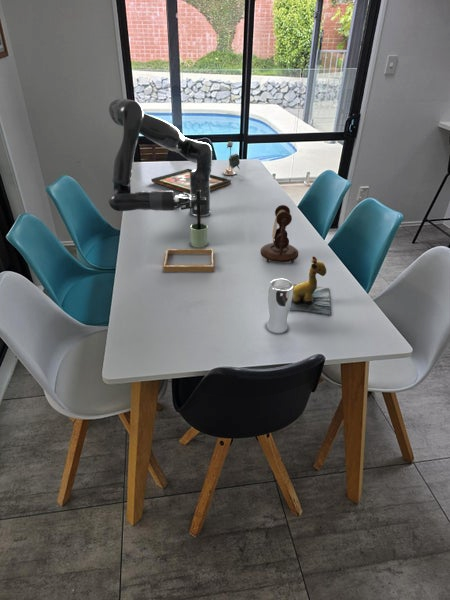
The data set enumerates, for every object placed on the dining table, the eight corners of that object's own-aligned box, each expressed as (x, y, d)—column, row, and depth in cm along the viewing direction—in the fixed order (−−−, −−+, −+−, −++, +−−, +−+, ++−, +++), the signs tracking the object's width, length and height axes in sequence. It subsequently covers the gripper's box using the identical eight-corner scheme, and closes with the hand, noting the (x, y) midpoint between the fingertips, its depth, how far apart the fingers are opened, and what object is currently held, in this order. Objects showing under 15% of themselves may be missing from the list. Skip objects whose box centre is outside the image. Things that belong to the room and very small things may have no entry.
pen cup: (191, 240, 168) (190, 223, 164) (207, 240, 169) (207, 223, 164) (190, 248, 163) (189, 230, 158) (207, 248, 163) (207, 230, 158)
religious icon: (234, 181, 237) (234, 177, 236) (200, 198, 212) (200, 193, 211) (183, 171, 254) (183, 166, 252) (146, 185, 229) (146, 180, 227)
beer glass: (263, 320, 122) (267, 278, 114) (286, 319, 123) (291, 277, 114) (267, 334, 116) (271, 291, 108) (291, 333, 117) (297, 290, 109)
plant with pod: (241, 175, 249) (242, 141, 238) (223, 175, 247) (224, 141, 236) (238, 171, 256) (240, 138, 244) (221, 172, 254) (221, 138, 243)
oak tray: (163, 272, 146) (163, 266, 145) (167, 254, 158) (166, 249, 156) (213, 272, 147) (213, 266, 145) (212, 254, 158) (212, 249, 157)
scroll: (259, 247, 164) (263, 200, 153) (295, 249, 164) (301, 201, 153) (261, 265, 152) (265, 215, 141) (299, 266, 151) (306, 216, 140)
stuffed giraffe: (330, 315, 125) (337, 269, 116) (272, 310, 128) (275, 265, 119) (328, 290, 138) (334, 247, 130) (276, 286, 141) (279, 244, 133)
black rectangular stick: (197, 232, 165) (196, 190, 155) (200, 232, 165) (200, 190, 155) (197, 236, 162) (196, 193, 152) (200, 236, 162) (200, 193, 152)
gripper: (159, 197, 149) (206, 197, 149) (163, 185, 160) (206, 186, 161) (161, 216, 153) (206, 216, 154) (164, 203, 164) (206, 203, 165)
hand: (206, 200), depth 157 cm, fingers closed on black rectangular stick, 1 cm apart
